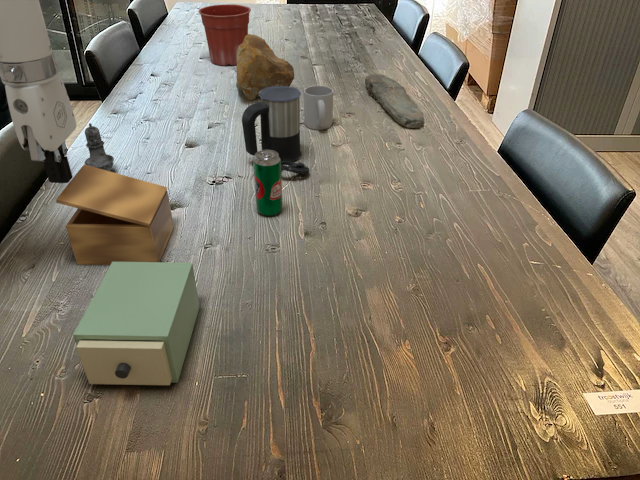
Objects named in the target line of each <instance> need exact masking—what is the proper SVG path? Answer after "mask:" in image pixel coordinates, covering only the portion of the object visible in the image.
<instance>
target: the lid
mask: <svg viewBox="0 0 640 480" xmlns="http://www.w3.org/2000/svg"><path fill="white" fill-rule="evenodd" d="M166 191H168V186H164V185H160V184H156V183H153V182H150V181H146V180H142V179H140V178H136V177H132V176H127V175H124V174H120V173H117V172H116V173H114V172H110V171H106V170H103V169H99V168H95V167H92V166H88V165H85V163H84V164H83V165H81V167H80V169H79V170H78V171H77V172H76V173H75V175H74V176H73V177H72V179H71V180H70V181H69V182H68V183H67V185H66V186H65V188H64V189H63V190H62V191H61V193H60V194H59V195H57V197H56V199H55V203H56V204H60V205H64V206H67V207H71V208H76V209H78V208H79V209H82V210H86V211H90V212H94V213H98V214H101V215H105V216H109V217H113V218H117V219H121V220H124V221H128V222H132V223H136V224H140V225H143V226H147V227H149V226H150V224H151V222H152V220H153V218H154V216H155V214H156V212H157V210H158V207H159V205H160V203H161V201H162V199H163V197H164V195H165V193H166Z"/></svg>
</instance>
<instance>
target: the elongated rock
mask: <svg viewBox="0 0 640 480" xmlns="http://www.w3.org/2000/svg"><path fill="white" fill-rule="evenodd" d="M364 83H365V87H366V88H367V89H368V91H369V92H370V97H373V98H374V99H375V100H376V101H377V102H378V103H379V104H380V105H381V106H382V108H383V109H384V111H386V112H387V113H388V114H389V115H390V116H391V118H393V120H394V121H395V122H397V124H400V125H402V126H403V127H404V128H409V129H419V128H421V127H423V125H424V122H425V118H424V117H425V115H424V112H423V111H422V110H421V109H420V108H419V107H418V105H417V104H416V103H415V101H414V100H413V99H412V98H411V96H410V95H409V94H408V93H407V91H406V88H405V86H403V85H401V84H400V83H399V82H397V81H396V80H395V79H392V78H391V77H389V76H387V75H385V74H382V73H370V74H369V75H367V76H365V78H364Z"/></svg>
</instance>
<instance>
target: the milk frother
mask: <svg viewBox="0 0 640 480" xmlns="http://www.w3.org/2000/svg"><path fill="white" fill-rule="evenodd" d="M301 95H302V92H301V90H300V89H298V88H296V87H292V86H289V87H288V86H273V87H268V88H265V89H262V90H261V91H260V92H259V96H260V97H259V96H258V97H259V98H260V101H258V102H254V103H251V104H250V105H248V106H247V107H246V108H245V110H244V111H243V113H242V116H241V125H242V131H243V140H244V145H245V152H247V154H249V155H251V156H255V154H256V153H257V152H258V151H259V150H258V140H257V131H256V120H257V118H258V117H260V135H261V136H260V137H261V138H260V139H261V140H260V141H261V142H260V144H261V145H260V146H261V150H274V151H276V152H277V153H278V154H279V157H280V158H281V170H283V171H286V172H290V173H294V174H297V175H299V176H303V175H304V174H308V173H310V168H309V166H308V165H305V163H304V162H301V161H299V162H295V161H297V160H299V159H300V158H301V157H302V155H303V153H302V150H301V130H300V129H301V105H300V104H301V102H300V101H301Z"/></svg>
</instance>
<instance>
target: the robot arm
mask: <svg viewBox="0 0 640 480" xmlns="http://www.w3.org/2000/svg"><path fill="white" fill-rule="evenodd" d="M0 80H1V82H2V84H3V85H4V88H5V95H6V101H7V106H8V110H9V114H10V118H11V121H12V125H13V128H14V131H15V135H16V137H17V140H18V143H19V145H20V147H21V148H22V149H23V150H24V151H26V152H28V151H29V155H30V159H31V161H32V162H41V163H43V167H44V170H45V172H46V176H47V179H48V181H49V183H51V184H69V183H70V181H71V180H72V179H73V178H74V176H73V173H72V170H71V165H70V162H69V158H68V156H67V155H68V150H67V149H68V147H67V144H66V143H67V142H66V140H67V139H68V138H69V137H70V136H71V135H72V134H73V133H74V132H75V130H76V129H77V120H76V116H75V114H74V110H73V107H72V103H71V100H70V96H69V95H68V92H67V88H66V86H65V83H64V81H63V79H62V77H61V75H60V72H59V70H58V67H57V62H56V59H55V55H54V52H53V48H52V44H51V41H50V36H49V32H48V29H47V25H46V22H45V18H44V14H43V10H42V7H41V2H40V0H0Z"/></svg>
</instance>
